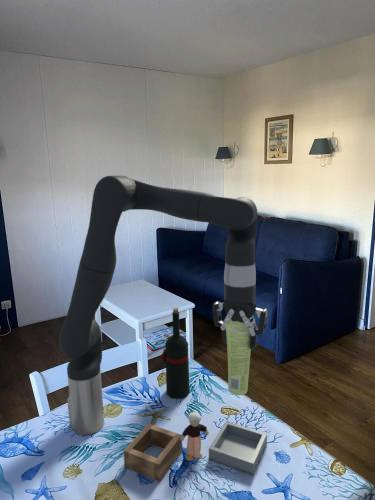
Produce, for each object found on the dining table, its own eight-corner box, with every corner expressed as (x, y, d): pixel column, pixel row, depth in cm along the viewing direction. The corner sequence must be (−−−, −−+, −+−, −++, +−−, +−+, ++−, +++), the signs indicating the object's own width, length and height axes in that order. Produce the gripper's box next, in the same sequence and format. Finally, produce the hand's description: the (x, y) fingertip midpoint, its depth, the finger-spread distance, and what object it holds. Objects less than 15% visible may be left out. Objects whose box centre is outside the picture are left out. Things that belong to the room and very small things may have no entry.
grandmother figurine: (185, 465, 96) (184, 421, 94) (179, 455, 100) (178, 413, 97) (211, 455, 100) (211, 412, 97) (204, 445, 103) (203, 404, 101)
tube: (239, 382, 101) (240, 313, 97) (253, 390, 97) (255, 319, 93) (223, 390, 97) (224, 318, 93) (238, 398, 93) (239, 325, 89)
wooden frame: (124, 467, 96) (123, 450, 95) (149, 439, 106) (148, 423, 105) (159, 482, 92) (159, 464, 90) (182, 451, 102) (181, 434, 100)
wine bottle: (161, 385, 133) (157, 304, 126) (189, 385, 132) (188, 304, 126) (158, 399, 125) (155, 313, 119) (189, 399, 125) (187, 313, 118)
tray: (208, 459, 98) (208, 448, 98) (225, 431, 109) (225, 421, 108) (253, 475, 93) (253, 463, 92) (266, 444, 103) (267, 433, 103)
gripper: (273, 280, 91) (271, 344, 94) (218, 274, 97) (218, 334, 101) (264, 289, 84) (262, 358, 88) (206, 281, 91) (206, 346, 94)
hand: (239, 345), depth 94 cm, fingers closed on tube, 6 cm apart
